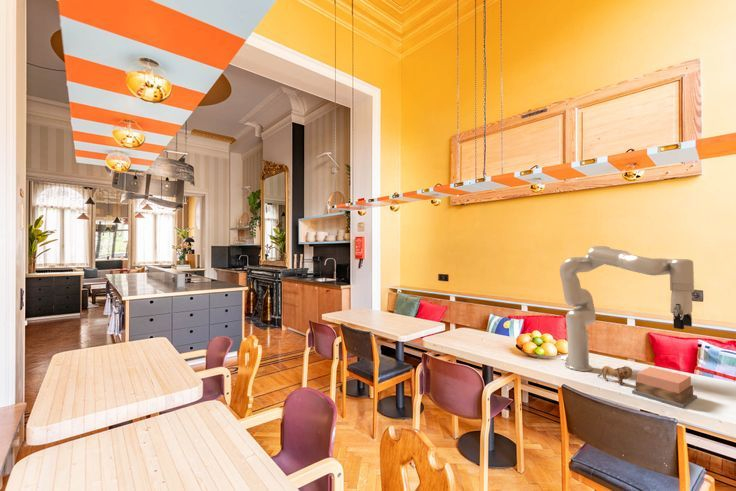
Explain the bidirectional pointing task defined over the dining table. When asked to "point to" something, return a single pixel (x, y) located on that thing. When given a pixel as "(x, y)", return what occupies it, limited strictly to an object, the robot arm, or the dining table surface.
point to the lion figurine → (617, 373)
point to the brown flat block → (665, 393)
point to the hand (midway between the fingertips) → (682, 327)
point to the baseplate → (667, 400)
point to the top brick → (664, 379)
